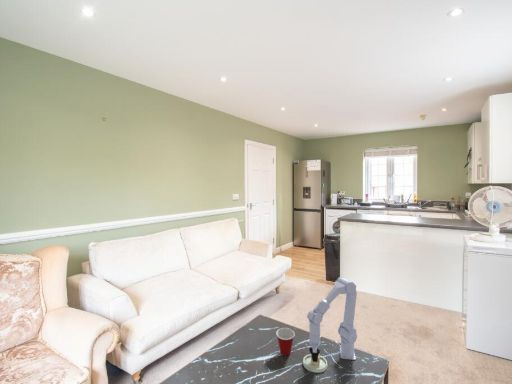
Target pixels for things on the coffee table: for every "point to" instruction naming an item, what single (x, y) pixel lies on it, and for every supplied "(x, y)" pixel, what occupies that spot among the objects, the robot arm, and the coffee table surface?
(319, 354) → the birch block
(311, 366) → the celadon dish
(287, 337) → the plastic cup
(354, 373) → the coffee table surface
